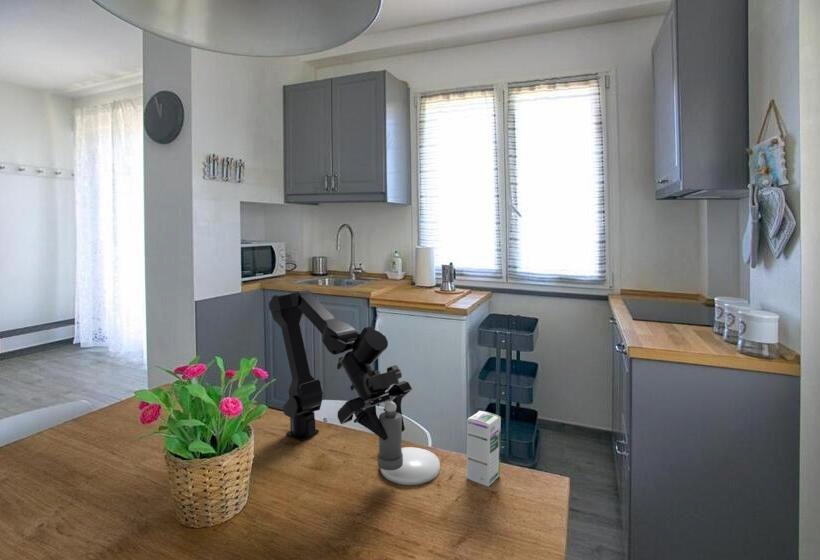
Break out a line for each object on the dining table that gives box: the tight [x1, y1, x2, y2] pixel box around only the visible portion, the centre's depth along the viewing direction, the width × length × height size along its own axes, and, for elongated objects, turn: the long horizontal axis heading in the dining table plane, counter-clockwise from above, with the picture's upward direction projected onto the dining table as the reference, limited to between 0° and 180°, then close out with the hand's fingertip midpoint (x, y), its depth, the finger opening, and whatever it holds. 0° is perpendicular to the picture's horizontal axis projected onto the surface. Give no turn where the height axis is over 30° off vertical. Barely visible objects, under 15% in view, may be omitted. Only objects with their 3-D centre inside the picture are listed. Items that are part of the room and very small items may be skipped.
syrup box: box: [466, 410, 502, 487], centre depth 98 cm, size 6×6×14 cm
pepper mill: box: [377, 401, 403, 470], centre depth 96 cm, size 6×6×14 cm
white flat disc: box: [379, 446, 441, 486], centre depth 103 cm, size 14×14×2 cm
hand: (394, 435), depth 95 cm, fingers closed on pepper mill, 5 cm apart
